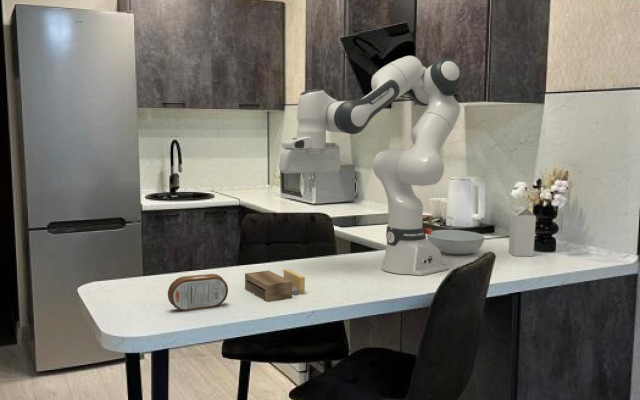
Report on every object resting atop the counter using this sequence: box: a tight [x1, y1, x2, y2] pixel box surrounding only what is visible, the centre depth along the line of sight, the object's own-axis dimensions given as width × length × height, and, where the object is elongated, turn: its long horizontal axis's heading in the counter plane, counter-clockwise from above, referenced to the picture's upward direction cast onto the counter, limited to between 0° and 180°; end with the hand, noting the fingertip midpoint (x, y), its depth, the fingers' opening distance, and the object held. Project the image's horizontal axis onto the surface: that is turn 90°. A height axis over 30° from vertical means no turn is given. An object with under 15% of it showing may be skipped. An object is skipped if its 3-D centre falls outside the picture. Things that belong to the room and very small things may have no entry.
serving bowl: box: [426, 229, 485, 256], centre depth 225 cm, size 21×21×7 cm
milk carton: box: [508, 202, 537, 257], centre depth 223 cm, size 7×7×19 cm
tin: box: [167, 273, 229, 312], centre depth 151 cm, size 15×3×8 cm, turn 118°
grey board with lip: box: [283, 268, 306, 296], centre depth 167 cm, size 11×10×5 cm
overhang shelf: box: [244, 270, 293, 302], centre depth 165 cm, size 8×14×4 cm, turn 31°
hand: (310, 187), depth 186 cm, fingers closed
